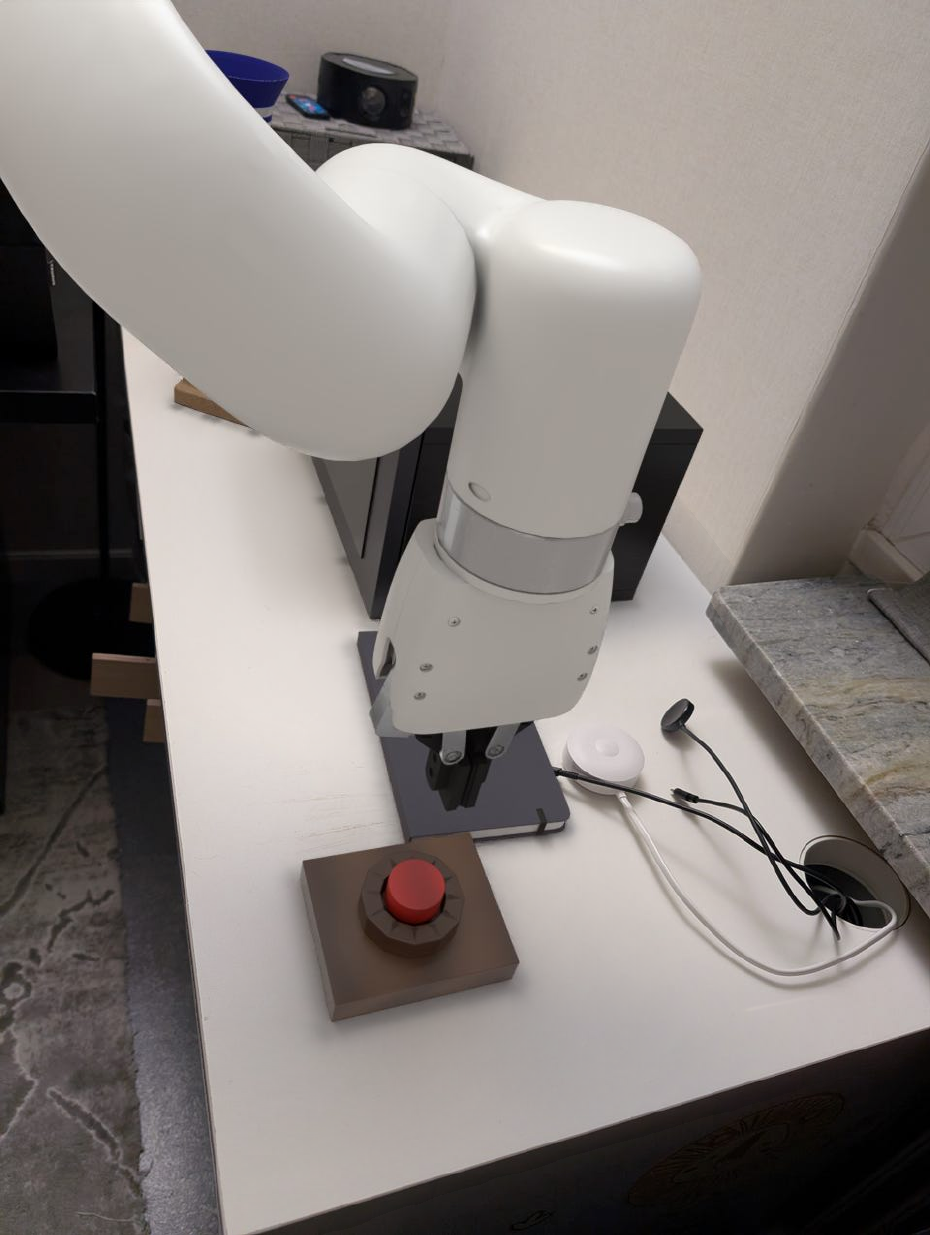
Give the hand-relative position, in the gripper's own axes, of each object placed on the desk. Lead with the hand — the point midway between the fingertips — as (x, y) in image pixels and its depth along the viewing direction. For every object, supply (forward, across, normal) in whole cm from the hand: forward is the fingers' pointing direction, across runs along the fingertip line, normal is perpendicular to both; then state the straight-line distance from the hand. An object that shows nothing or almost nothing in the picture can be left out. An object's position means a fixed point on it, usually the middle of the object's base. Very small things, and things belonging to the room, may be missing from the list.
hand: (451, 788), depth 50 cm
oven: (+15, -20, -46) cm, 52 cm away
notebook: (+15, -8, -16) cm, 24 cm away
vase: (+15, -1, -92) cm, 93 cm away
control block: (+15, 0, 0) cm, 15 cm away
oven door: (+15, -3, -46) cm, 49 cm away
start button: (+11, 0, 0) cm, 12 cm away
